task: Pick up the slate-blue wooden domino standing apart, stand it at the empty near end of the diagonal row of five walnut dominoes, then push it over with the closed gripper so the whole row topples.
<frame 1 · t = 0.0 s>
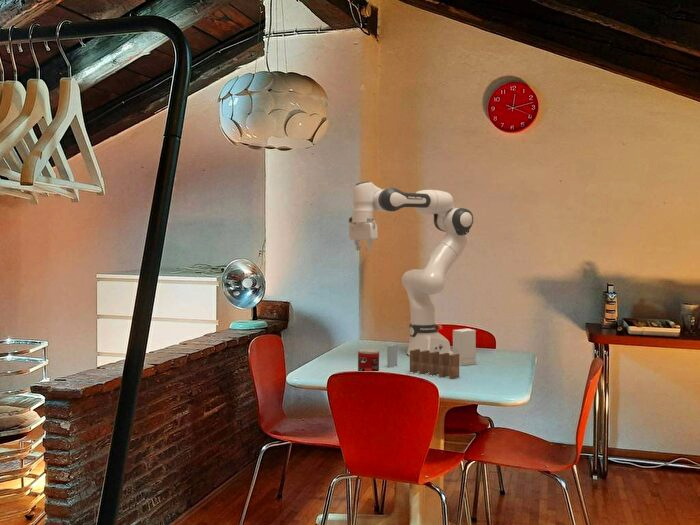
hand: (363, 250, 312), 48 cm above the table, tool pointing down, fingers open, 8 cm apart
domino 4: (434, 375, 280), on the table
domino 3: (424, 373, 283), on the table
domino 6: (454, 377, 275), on the table
domino 5: (444, 376, 278), on the table
domino 2: (414, 372, 286), on the table
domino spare: (392, 366, 298), on the table
canned food: (368, 379, 273), on the table
skincare box: (464, 364, 304), on the table
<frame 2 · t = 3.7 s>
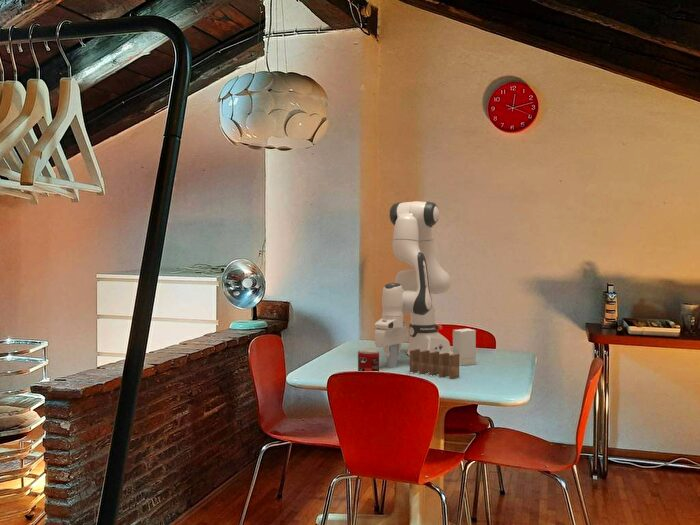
hand: (392, 355, 298), 5 cm above the table, tool pointing down, fingers closed on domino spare, 5 cm apart
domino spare: (392, 366, 298), on the table, touching gripper
everything else where it was.
when the fingers open (5 cm above the table, at t = 9.0 s): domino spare stays where it is, on the table.
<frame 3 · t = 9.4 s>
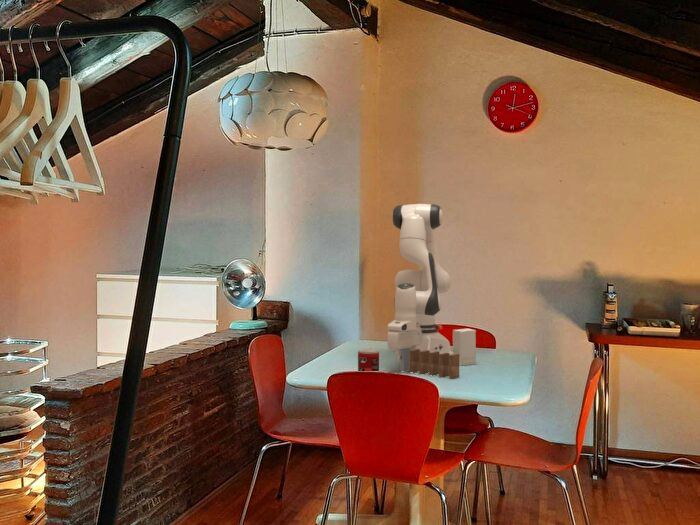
hand: (405, 358, 289), 5 cm above the table, tool pointing down, fingers open, 8 cm apart
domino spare: (405, 370, 289), on the table
everything else where it was.
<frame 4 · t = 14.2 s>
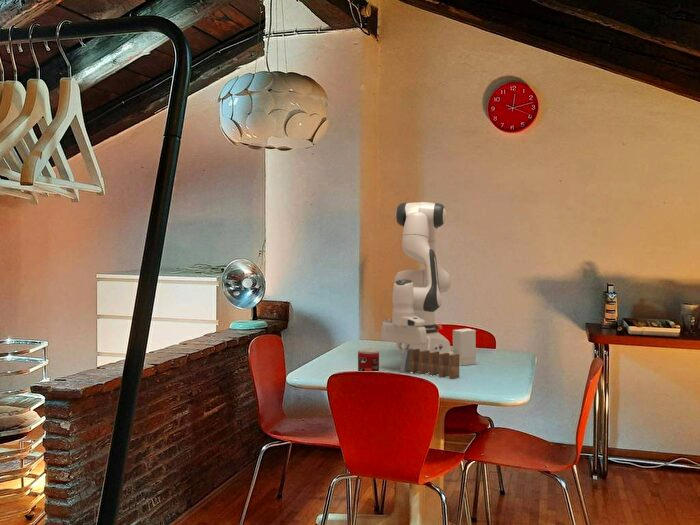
hand: (403, 354, 289), 7 cm above the table, tool pointing down, fingers closed
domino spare: (405, 370, 289), on the table, tilted 12°
everything else where it was.
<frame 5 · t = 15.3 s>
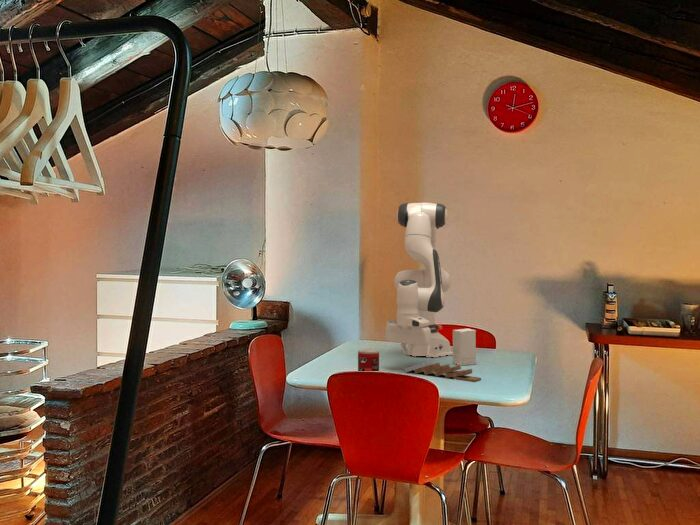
hand: (407, 354, 288), 7 cm above the table, tool pointing down, fingers closed
domino 4: (438, 373, 279), point 1 cm above the table, tilted 69°, touching domino 3, domino 5
domino 3: (427, 372, 282), point 1 cm above the table, tilted 69°, touching domino 2, domino 4
domino 6: (456, 377, 274), on the table, tilted 90°, touching domino 5
domino 5: (448, 374, 277), point 1 cm above the table, tilted 76°, touching domino 4, domino 6
domino 2: (418, 370, 285), point 1 cm above the table, tilted 69°, touching domino 3
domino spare: (408, 369, 288), point 1 cm above the table, tilted 69°
everything else where it was.
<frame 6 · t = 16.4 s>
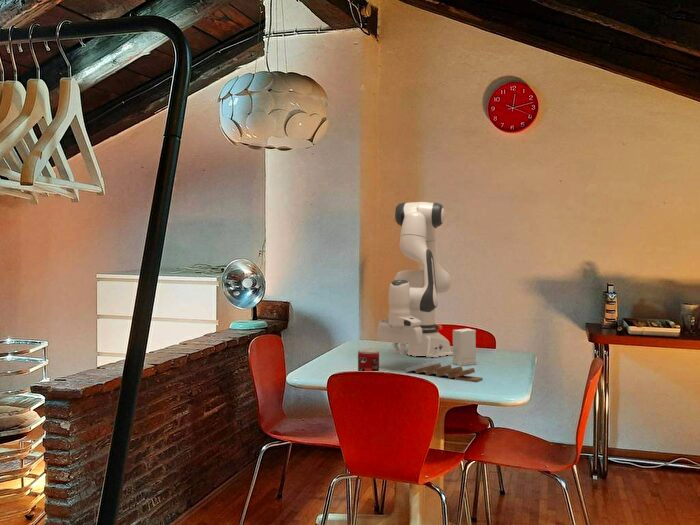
hand: (399, 354, 291), 6 cm above the table, tool pointing down, fingers closed
domino 5: (451, 375, 276), point 1 cm above the table, tilted 73°, touching domino 4, domino 6
domino 2: (419, 370, 285), point 1 cm above the table, tilted 71°, touching domino 3, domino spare
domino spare: (409, 369, 288), point 1 cm above the table, tilted 70°, touching domino 2
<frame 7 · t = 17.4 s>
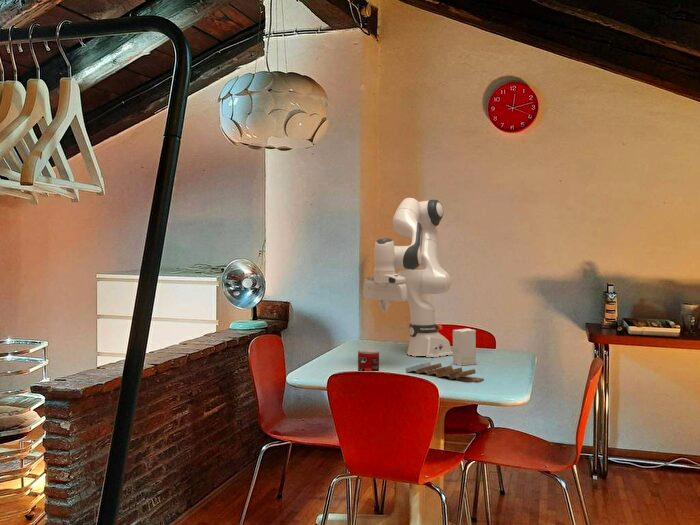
hand: (384, 310, 298), 23 cm above the table, tool pointing down, fingers closed
domino 4: (440, 374, 277), point 1 cm above the table, tilted 72°, touching domino 3, domino 5
domino 6: (459, 378, 273), on the table, tilted 90°
domino 5: (453, 375, 274), point 1 cm above the table, tilted 73°, touching domino 4
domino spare: (409, 369, 288), point 1 cm above the table, tilted 71°, touching domino 2
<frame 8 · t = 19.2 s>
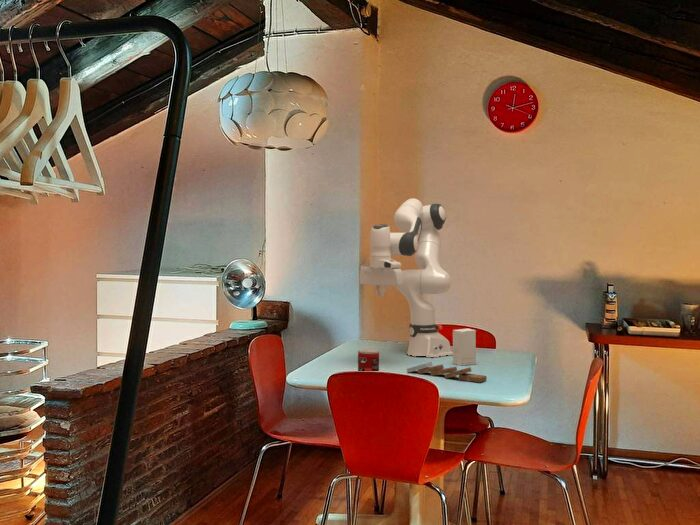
hand: (380, 296, 300), 29 cm above the table, tool pointing down, fingers closed
domino 4: (448, 375, 276), point 1 cm above the table, tilted 70°, touching domino 3, domino 5
domino 3: (433, 372, 281), point 1 cm above the table, tilted 75°, touching domino 4
domino 6: (461, 379, 273), on the table, tilted 90°, touching domino 5
domino 5: (462, 375, 272), point 1 cm above the table, tilted 90°, touching domino 4, domino 6
domino 2: (420, 371, 285), point 1 cm above the table, tilted 74°, touching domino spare
everything else where it was.
at the end: domino 6 tilted 90°; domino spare tilted 70°; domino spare inside the target area (0.9 cm from its centre), point 0.7 cm above the table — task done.
